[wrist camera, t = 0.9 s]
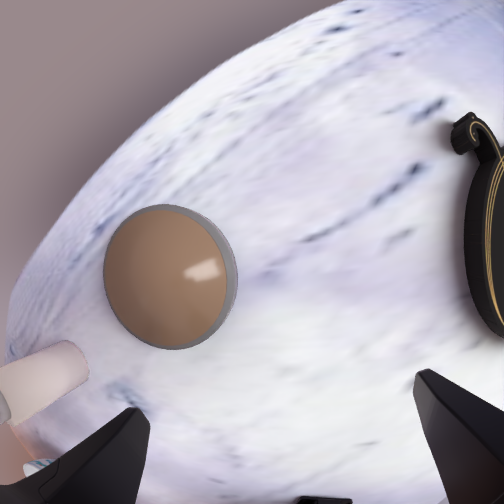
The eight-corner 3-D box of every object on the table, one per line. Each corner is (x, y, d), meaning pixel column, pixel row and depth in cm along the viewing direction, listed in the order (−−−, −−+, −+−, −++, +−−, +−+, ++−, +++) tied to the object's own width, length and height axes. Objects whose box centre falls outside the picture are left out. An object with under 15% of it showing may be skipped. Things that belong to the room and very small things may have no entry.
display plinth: (221, 360, 22) (215, 370, 20) (106, 319, 24) (94, 323, 22) (253, 222, 22) (249, 221, 20) (126, 196, 23) (114, 193, 21)
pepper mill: (89, 390, 25) (12, 444, 12) (58, 371, 25) (-19, 411, 12) (89, 351, 24) (-3, 399, 11) (56, 333, 25) (-31, 366, 12)
